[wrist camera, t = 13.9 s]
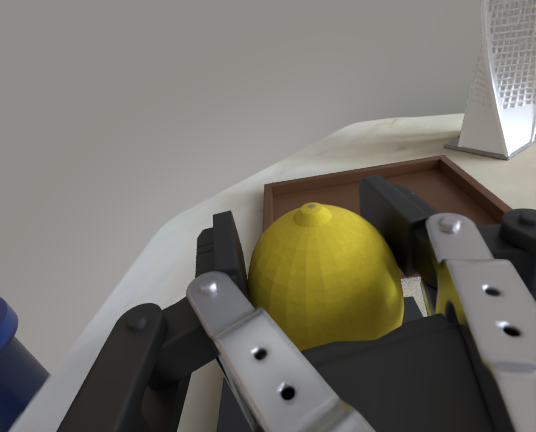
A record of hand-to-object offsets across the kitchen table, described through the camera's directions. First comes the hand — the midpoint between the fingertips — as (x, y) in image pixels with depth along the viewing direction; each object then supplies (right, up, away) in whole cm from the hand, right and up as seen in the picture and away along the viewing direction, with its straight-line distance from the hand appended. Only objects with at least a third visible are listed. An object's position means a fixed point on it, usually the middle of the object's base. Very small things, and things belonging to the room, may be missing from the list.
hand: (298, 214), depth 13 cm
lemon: (+2, -7, +1) cm, 7 cm away
